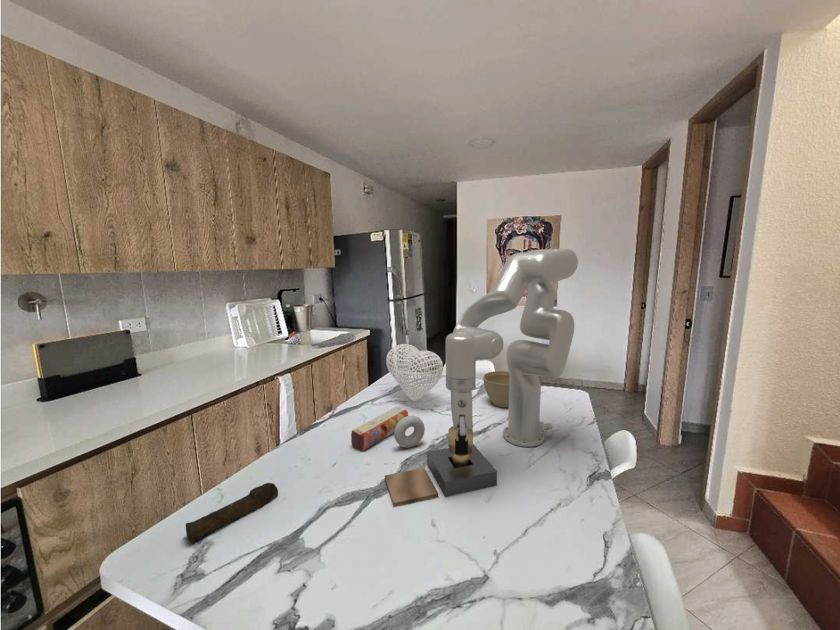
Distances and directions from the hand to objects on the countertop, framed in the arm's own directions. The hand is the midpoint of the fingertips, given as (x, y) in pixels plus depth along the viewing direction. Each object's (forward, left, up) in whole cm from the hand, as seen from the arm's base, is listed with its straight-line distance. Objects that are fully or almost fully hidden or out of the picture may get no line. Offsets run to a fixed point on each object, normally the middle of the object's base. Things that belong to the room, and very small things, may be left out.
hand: (460, 446), depth 91 cm
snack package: (+16, -27, -9) cm, 33 cm away
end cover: (0, 0, -6) cm, 6 cm away
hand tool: (+54, -2, -9) cm, 55 cm away
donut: (+9, -18, -8) cm, 22 cm away
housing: (0, 0, -8) cm, 8 cm away
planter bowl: (-35, -38, -8) cm, 52 cm away
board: (+14, +1, -8) cm, 16 cm away
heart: (-2, -52, -8) cm, 53 cm away
